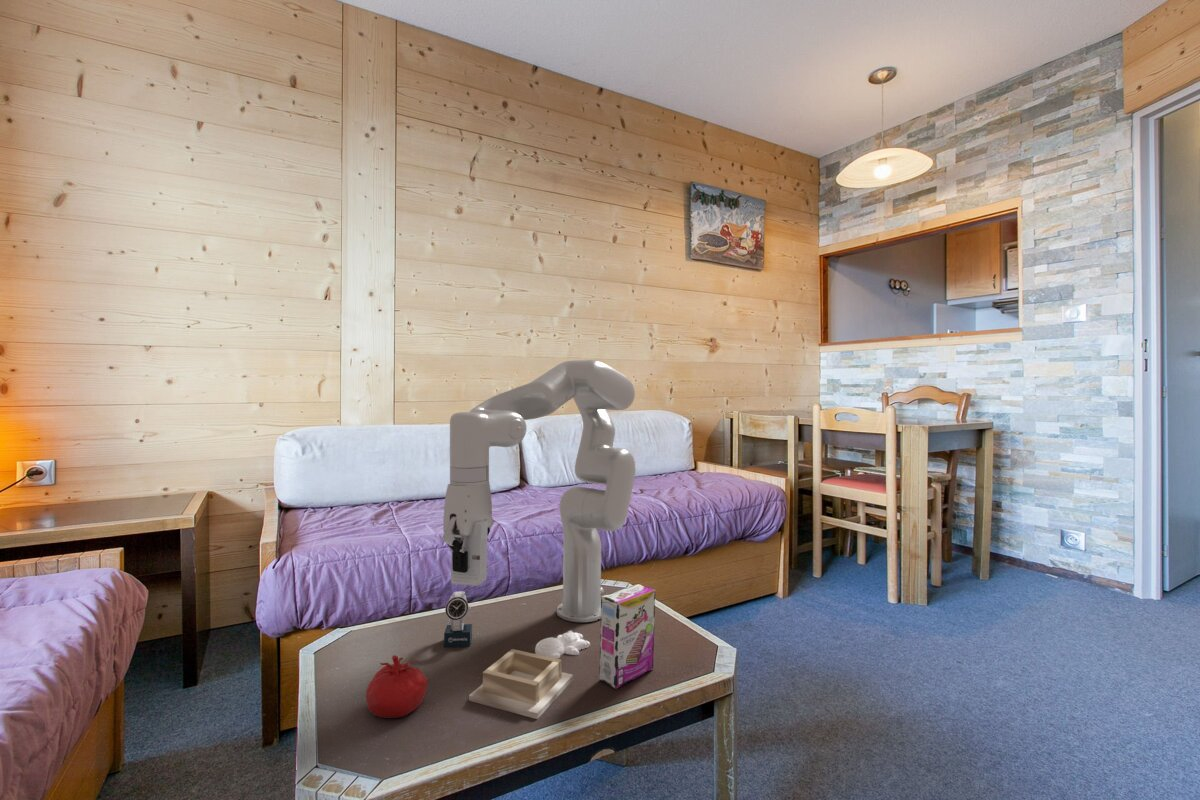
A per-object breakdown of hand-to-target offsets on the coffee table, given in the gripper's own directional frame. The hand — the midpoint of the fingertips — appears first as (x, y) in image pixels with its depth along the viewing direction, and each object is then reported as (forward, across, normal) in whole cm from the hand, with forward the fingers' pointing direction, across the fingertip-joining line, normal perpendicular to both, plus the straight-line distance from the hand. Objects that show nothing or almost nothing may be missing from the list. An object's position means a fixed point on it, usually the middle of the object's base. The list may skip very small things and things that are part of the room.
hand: (469, 566), depth 108 cm
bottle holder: (+21, +1, +13) cm, 25 cm away
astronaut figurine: (+22, -17, +12) cm, 30 cm away
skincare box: (+3, 0, 0) cm, 3 cm away
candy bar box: (+22, -12, +29) cm, 38 cm away
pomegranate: (+21, +15, -4) cm, 27 cm away
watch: (+21, -10, -10) cm, 26 cm away
